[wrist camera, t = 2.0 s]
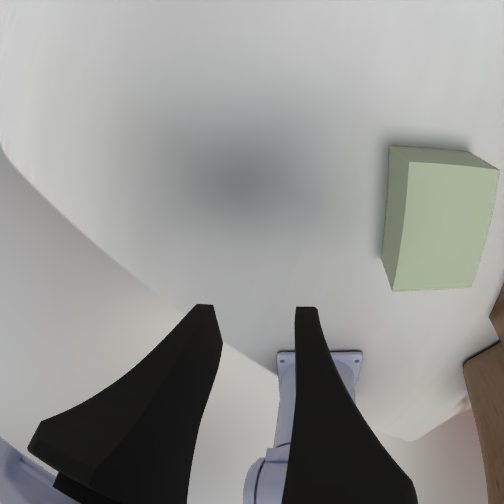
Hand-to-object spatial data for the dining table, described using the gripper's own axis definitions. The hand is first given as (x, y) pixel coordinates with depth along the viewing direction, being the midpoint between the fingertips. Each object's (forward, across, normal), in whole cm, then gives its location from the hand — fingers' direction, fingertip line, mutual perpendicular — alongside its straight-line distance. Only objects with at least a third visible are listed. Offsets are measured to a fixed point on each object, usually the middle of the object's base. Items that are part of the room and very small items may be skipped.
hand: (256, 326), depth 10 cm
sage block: (+11, -10, 0) cm, 15 cm away
